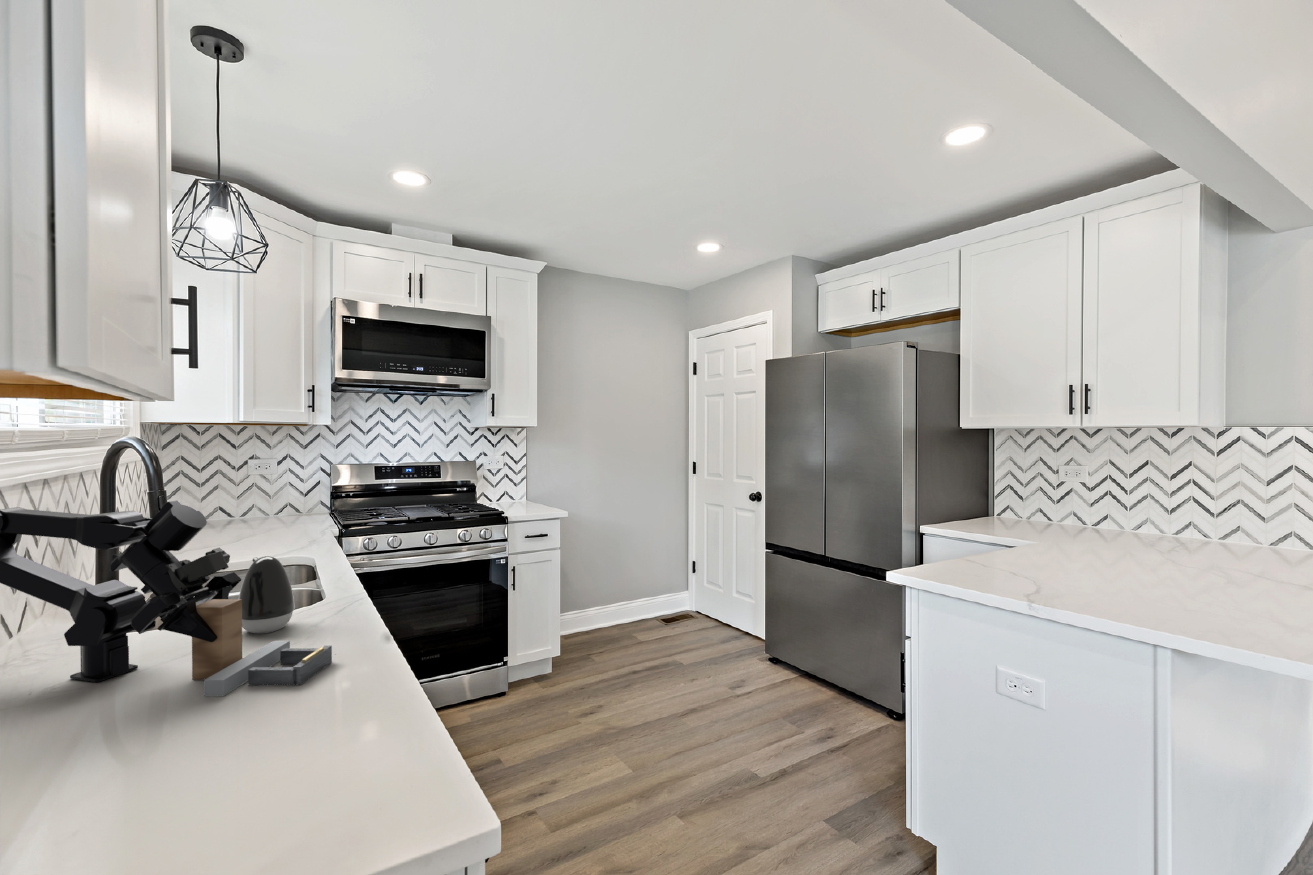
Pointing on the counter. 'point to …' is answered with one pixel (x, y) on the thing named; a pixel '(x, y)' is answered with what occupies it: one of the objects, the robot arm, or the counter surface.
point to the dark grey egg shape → (266, 596)
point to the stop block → (218, 637)
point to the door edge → (243, 669)
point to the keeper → (304, 669)
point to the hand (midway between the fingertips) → (225, 634)
